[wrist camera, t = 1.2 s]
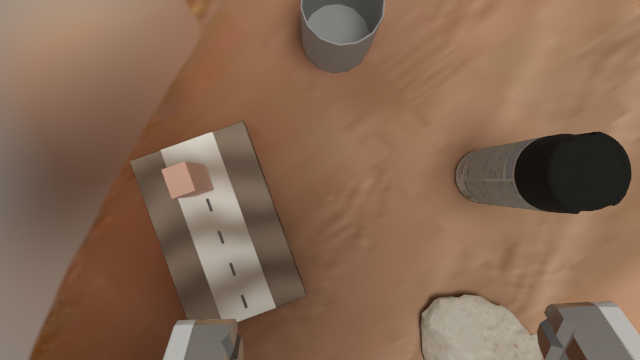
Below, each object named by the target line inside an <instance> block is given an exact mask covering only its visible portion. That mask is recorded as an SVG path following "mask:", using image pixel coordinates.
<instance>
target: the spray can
mask: <svg viewBox="0 0 640 360" xmlns="http://www.w3.org/2000/svg"><path fill="white" fill-rule="evenodd" d="M455 177H456V183H457V186H458V188H459V190H460V192H461V193H462V194H463V195H464V196H465V197H466V198H467V199H469V200H471V201H473V202H476V203H482V204H489V205H498V206H506V207H514V208H523V209H531V210H538V211H547V212H557V213H570V214H578V213H579V212H580V211H594V210H598V209H602V208H604V207H606V206H610V205H613V206H615V205H616V204H618V203H620V201H621V200H622V199H623V198H624V196H625V195H626V192H627V190H628V188H629V184H630V181H631V164H630V161H629V158H628V155H627V153H626V151H625V150H624V148H623V147H622V146H621V145H620V144H619V142H618V141H616V140H615V139H614V138H612V137H611V136H609V135H607V134H605V133H602V132H592V133H585V134H578V135H574V134H558V135H553V136H546V137H541V138H536V139H531V140H525V141H521V142H515V143H510V144H505V145H500V146H495V147H490V148H485V149H480V150H475V151H473V152H470V153H469V154H467V155H466V156H464V157H463V158H462V159H461V160H460V162H459V164H458V166H457V169H456V174H455Z"/></svg>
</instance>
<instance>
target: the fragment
mask: <svg viewBox="0 0 640 360" xmlns="http://www.w3.org/2000/svg"><path fill="white" fill-rule="evenodd" d="M421 334H422V351H423V356H424V359H425V360H542V353H541V351H540V348H539V344H538V338H537V334H529V332H528V330H527V329H525V328H524V327H522V325H521V324H520V323H519V321H518V320H517V318H516V317H515V316H514V315H513V314H512V313H511V312H510V311H509V310H508V309H506V308H505V307H503V306H501V305H495V304H492V303H490V302H489V301H487V300H486V299H485V298H483V297H482V296H474V295H462V296H461V297H459V298H458V297H453V296H449V297H440V298H437V299H436V300H434V301H433V302H432V304H431V305H430V306H429V307H428V308H427V309H426V310H425V311H424V312H423V313H422V319H421Z"/></svg>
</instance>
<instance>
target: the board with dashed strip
mask: <svg viewBox="0 0 640 360" xmlns="http://www.w3.org/2000/svg"><path fill="white" fill-rule="evenodd" d="M130 162H131V165H132V168H133V171H134V173H135V176H136V179H137V182H138V184H139V187H140V190H141V193H142V195H143V198H144V201H145V204H146V207H147V209H148V212H149V215H150V218H151V220H152V223H153V226H154V229H155V232H156V234H157V237H158V240H159V243H160V245H161V248H162V251H163V254H164V257H165V259H166V262H167V265H168V268H169V270H170V273H171V276H172V279H173V281H174V284H175V287H176V290H177V293H178V295H179V298H180V301H181V304H182V306H183V309H184V312H185V315H186V318H187V320H207V319H236V322H239V321H242V320H245V319H247V318H250V317H253V316H255V315H258V314H261V313H263V312H266V311H269V310H272V309H274V308H276V307H278V306H281V305H284V304H286V303H289V302H292V301H295V300H297V299H300V298H303V297H305V296H306V290H305V288H304V285H303V282H302V279H301V277H300V274H299V271H298V268H297V266H296V263H295V260H294V257H293V254H292V252H291V249H290V246H289V243H288V241H287V238H286V235H285V232H284V230H283V227H282V224H281V221H280V218H279V216H278V213H277V210H276V207H275V205H274V202H273V199H272V196H271V194H270V191H269V188H268V185H267V182H266V180H265V177H264V174H263V171H262V169H261V166H260V163H259V160H258V158H257V155H256V152H255V149H254V146H253V144H252V141H251V138H250V135H249V133H248V130H247V127H246V124H245V123H244V122H243V121H242V122H239V123H237V124H234V125H231V126H228V127H225V128H223V129H220V130H217V131H214V132H210V133H207V134H205V135H202V136H199V137H196V138H193V139H190V140H188V141H185V142H182V143H179V144H176V145H173V146H171V147H168V148H165V149H162V150H160V151H158V152H155V153H152V154H149V155H146V156H143V157H141V158H138V159H135V160H132V161H130ZM182 162H190V163H196V164H201V165H206V168H207V171H208V174H209V176H210V179H211V182H212V185H213V187H214V190H212V191H209V192H206V193H203V194H201V195H198V196H195V197H186V198H176V199H172V198H171V196H170V193H169V190H168V187H167V184H166V182H165V179H164V176H163V173H162V171H161V170H162V169H165V168H168V167H170V166H173V165H176V164H179V163H182Z"/></svg>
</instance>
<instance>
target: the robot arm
mask: <svg viewBox="0 0 640 360" xmlns="http://www.w3.org/2000/svg"><path fill="white" fill-rule="evenodd" d="M544 313H545V315H546V317H547V319H546V320H544V321H543V322H541V323H540V325H539V328H538V330H537V338H538V344H539V348H540V351H541V353H542V355H543V357H544V360H640V335H639V334H638V332H637V331H636V330H635V328H634V327H633V326H632V324H631V323H630V322H629V320H628V319H627V317H626V316H625V315H624V313H623V312H622V311H621V309H620V308H619V307H618V305H616V304H615V303H614V302H609V301H606V302H591V303H590V302H579V303H563V304H551V305H549V306H547V308H546V310H545V312H544ZM237 330H238V324H237V322H236V319H207V320H178V321H177V323H176V324H175V326H174V327H173V330H172V333H171V336H170V339H169V342H168V345H167V348H166V351H165V354H164V357H163V360H243V353H244V348H243V341H242V337H241V336H240V335H239V334H237Z"/></svg>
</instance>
